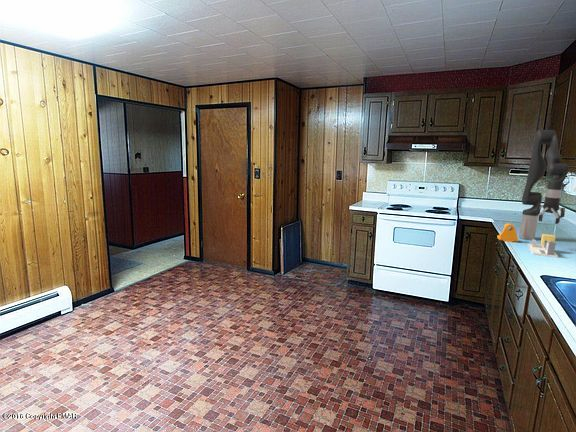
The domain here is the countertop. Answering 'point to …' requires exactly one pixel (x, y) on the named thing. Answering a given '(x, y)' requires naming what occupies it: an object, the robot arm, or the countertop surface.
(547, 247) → the rail plate
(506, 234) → the bracket
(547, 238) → the yellow block
